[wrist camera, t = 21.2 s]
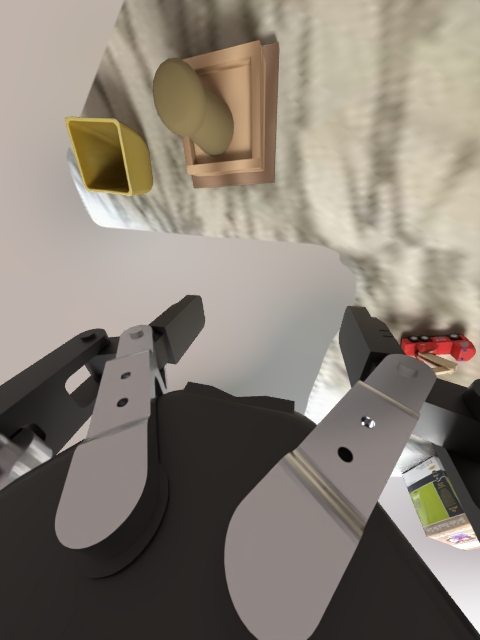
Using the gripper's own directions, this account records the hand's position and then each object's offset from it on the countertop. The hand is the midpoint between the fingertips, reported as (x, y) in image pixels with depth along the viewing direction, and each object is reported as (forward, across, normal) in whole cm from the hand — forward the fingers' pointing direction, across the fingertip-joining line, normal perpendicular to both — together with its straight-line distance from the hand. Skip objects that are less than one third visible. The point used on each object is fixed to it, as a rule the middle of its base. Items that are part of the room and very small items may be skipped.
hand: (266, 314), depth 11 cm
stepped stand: (+30, +10, -15) cm, 35 cm away
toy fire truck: (+30, -28, +21) cm, 46 cm away
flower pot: (+30, +28, -12) cm, 43 cm away
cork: (+26, +11, -14) cm, 32 cm away
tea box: (+30, -49, +68) cm, 89 cm away
